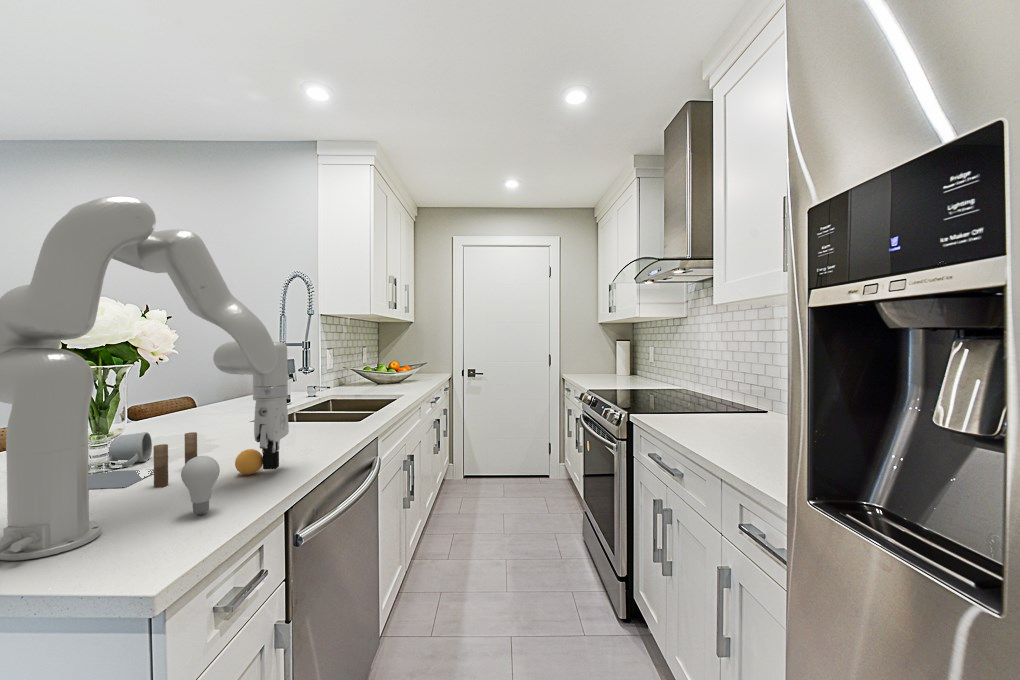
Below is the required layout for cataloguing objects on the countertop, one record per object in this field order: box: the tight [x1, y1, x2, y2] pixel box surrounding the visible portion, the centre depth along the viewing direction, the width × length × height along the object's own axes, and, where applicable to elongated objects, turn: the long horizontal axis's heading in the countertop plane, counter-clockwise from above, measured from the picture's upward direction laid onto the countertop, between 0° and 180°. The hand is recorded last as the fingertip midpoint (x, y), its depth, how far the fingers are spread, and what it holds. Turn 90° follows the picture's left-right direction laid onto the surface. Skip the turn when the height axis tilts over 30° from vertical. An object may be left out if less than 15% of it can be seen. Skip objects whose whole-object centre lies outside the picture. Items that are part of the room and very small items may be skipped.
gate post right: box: [184, 431, 198, 465], centre depth 120 cm, size 3×3×9 cm
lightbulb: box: [180, 455, 221, 516], centre depth 90 cm, size 6×6×11 cm
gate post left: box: [153, 443, 169, 488], centre depth 107 cm, size 3×3×9 cm
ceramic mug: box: [109, 431, 153, 468], centre depth 125 cm, size 11×8×8 cm
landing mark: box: [89, 468, 154, 490], centre depth 111 cm, size 14×14×1 cm
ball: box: [234, 448, 263, 476], centre depth 116 cm, size 6×6×6 cm
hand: (271, 468), depth 116 cm, fingers closed
